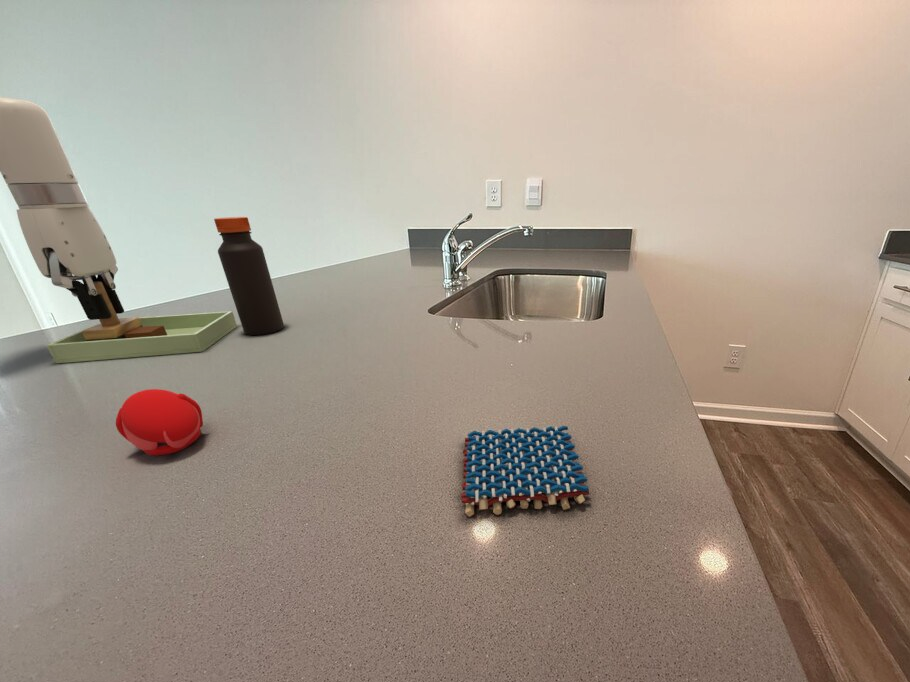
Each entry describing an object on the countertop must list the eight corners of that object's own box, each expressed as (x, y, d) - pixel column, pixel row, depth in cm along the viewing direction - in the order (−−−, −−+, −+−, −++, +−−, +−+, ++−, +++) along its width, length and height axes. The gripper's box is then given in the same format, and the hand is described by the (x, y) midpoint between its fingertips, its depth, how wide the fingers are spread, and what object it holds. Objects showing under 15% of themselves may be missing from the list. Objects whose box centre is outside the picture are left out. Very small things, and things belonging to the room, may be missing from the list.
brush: (119, 344, 68) (92, 286, 64) (89, 346, 68) (59, 288, 63) (145, 331, 75) (121, 278, 70) (117, 333, 74) (91, 279, 70)
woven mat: (464, 444, 42) (462, 427, 41) (566, 438, 42) (567, 421, 41) (459, 518, 32) (458, 498, 31) (591, 509, 33) (593, 489, 32)
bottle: (272, 335, 75) (238, 218, 66) (236, 336, 75) (197, 219, 66) (291, 324, 81) (261, 216, 72) (257, 325, 81) (224, 217, 72)
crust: (128, 345, 70) (123, 334, 69) (143, 337, 74) (138, 327, 73) (154, 343, 71) (150, 332, 70) (167, 335, 74) (163, 325, 73)
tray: (55, 363, 65) (45, 345, 63) (116, 335, 77) (108, 319, 76) (202, 351, 68) (195, 334, 67) (237, 326, 81) (232, 311, 79)
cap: (226, 435, 44) (206, 385, 42) (167, 467, 39) (140, 413, 37) (179, 422, 47) (158, 375, 44) (118, 450, 42) (90, 399, 39)
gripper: (64, 197, 68) (114, 305, 76) (-32, 199, 54) (42, 332, 62) (115, 196, 69) (159, 302, 77) (34, 198, 55) (98, 328, 63)
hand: (106, 315), depth 69 cm, fingers closed on brush, 2 cm apart
